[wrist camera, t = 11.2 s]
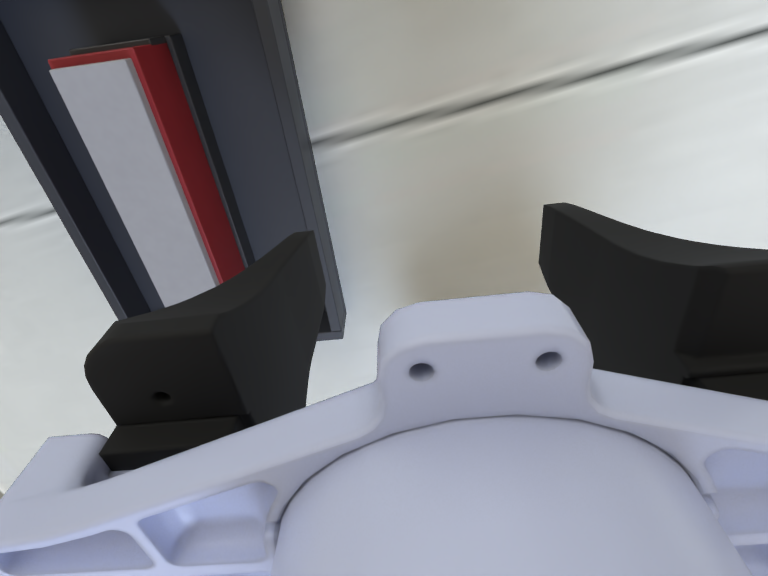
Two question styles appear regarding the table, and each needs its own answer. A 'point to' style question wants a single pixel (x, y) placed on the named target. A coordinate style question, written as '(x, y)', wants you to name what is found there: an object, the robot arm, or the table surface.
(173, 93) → the red and grey slab
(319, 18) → the table surface
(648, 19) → the table surface
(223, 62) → the tray
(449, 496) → the robot arm
